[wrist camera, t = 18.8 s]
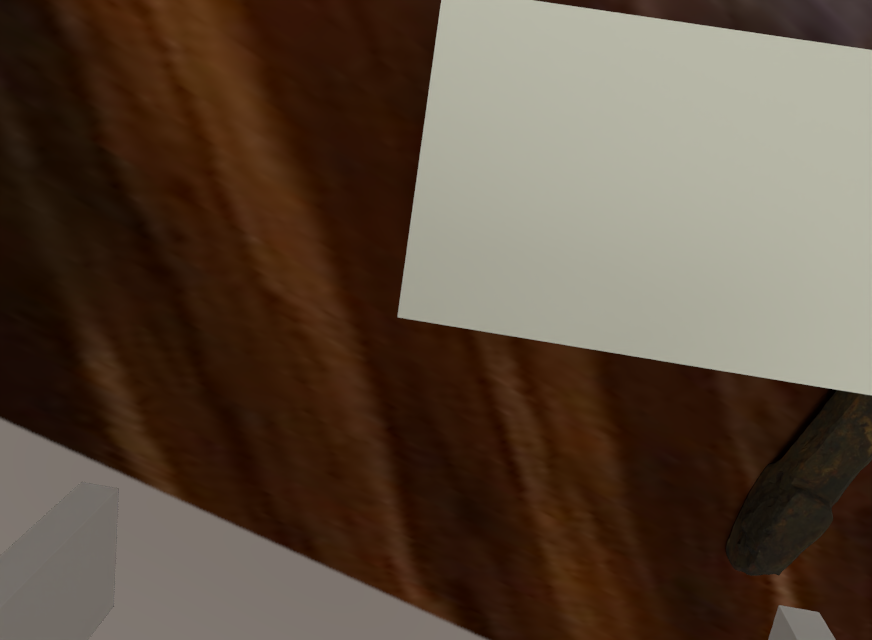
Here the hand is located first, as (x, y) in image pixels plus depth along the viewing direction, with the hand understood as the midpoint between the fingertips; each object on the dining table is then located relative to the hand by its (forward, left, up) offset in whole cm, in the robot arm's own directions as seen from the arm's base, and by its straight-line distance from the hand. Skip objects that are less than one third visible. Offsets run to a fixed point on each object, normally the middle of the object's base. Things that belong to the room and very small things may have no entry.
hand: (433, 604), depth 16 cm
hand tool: (+21, -5, -29) cm, 36 cm away
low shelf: (+9, +7, -29) cm, 31 cm away
